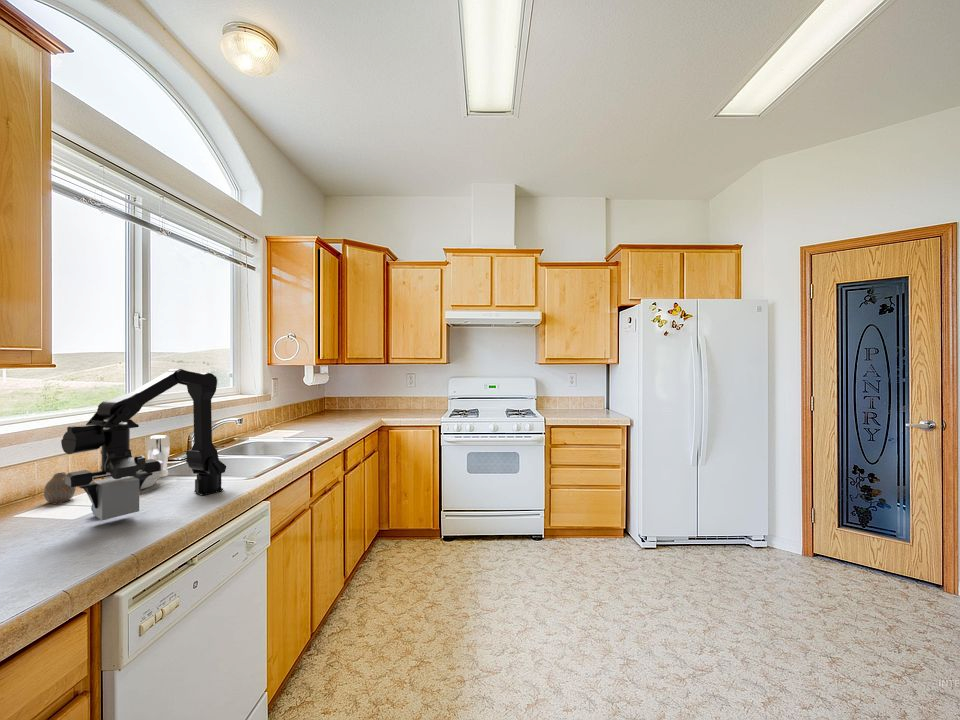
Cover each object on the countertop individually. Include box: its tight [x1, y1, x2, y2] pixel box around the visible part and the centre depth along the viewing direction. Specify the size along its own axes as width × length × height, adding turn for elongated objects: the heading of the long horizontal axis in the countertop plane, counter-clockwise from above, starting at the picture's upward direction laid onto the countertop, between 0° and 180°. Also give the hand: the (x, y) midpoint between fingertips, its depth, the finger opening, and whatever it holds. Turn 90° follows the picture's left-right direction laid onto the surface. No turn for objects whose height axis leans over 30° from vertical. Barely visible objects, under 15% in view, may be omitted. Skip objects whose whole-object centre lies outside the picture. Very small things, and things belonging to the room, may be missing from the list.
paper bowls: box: [104, 460, 163, 491], centre depth 141 cm, size 15×15×8 cm
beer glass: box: [146, 434, 171, 479], centre depth 155 cm, size 7×7×15 cm
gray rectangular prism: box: [92, 476, 140, 521], centre depth 111 cm, size 8×8×9 cm
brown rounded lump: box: [43, 472, 76, 504], centre depth 127 cm, size 7×7×9 cm
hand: (115, 503), depth 111 cm, fingers closed on gray rectangular prism, 8 cm apart
